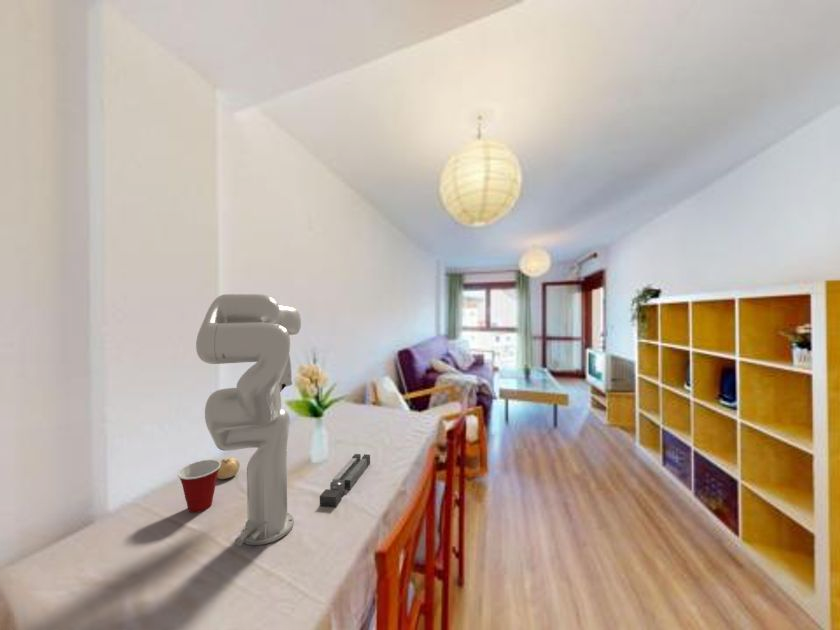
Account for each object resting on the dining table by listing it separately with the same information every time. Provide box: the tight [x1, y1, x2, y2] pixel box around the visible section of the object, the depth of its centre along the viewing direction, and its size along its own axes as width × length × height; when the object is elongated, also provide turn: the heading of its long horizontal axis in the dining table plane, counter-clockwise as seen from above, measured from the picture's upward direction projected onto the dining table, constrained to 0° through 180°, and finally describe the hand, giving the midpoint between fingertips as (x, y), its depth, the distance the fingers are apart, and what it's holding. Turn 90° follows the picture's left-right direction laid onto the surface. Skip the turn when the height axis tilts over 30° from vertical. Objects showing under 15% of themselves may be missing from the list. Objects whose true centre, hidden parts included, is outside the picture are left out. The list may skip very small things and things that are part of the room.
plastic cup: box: [177, 459, 221, 514], centre depth 97 cm, size 11×11×12 cm
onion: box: [217, 456, 241, 480], centre depth 117 cm, size 8×8×7 cm
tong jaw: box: [329, 453, 362, 498], centre depth 113 cm, size 25×5×4 cm, turn 170°
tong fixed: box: [319, 453, 371, 509], centre depth 110 cm, size 30×6×3 cm, turn 170°
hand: (275, 404), depth 110 cm, fingers closed
